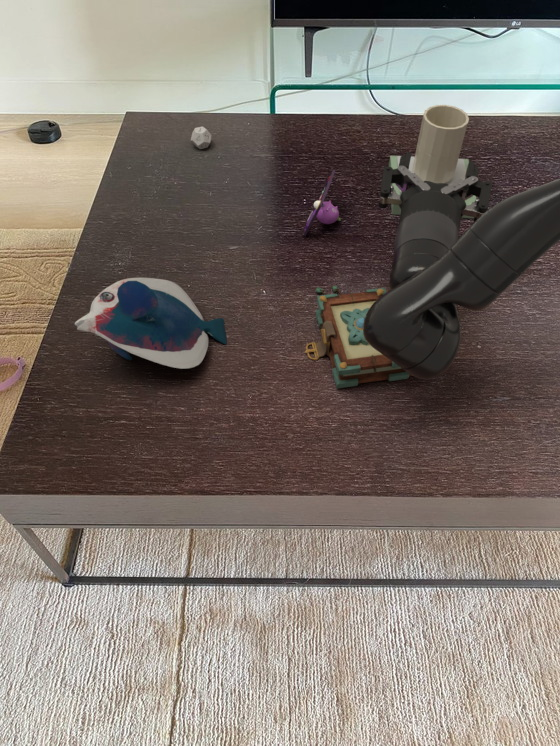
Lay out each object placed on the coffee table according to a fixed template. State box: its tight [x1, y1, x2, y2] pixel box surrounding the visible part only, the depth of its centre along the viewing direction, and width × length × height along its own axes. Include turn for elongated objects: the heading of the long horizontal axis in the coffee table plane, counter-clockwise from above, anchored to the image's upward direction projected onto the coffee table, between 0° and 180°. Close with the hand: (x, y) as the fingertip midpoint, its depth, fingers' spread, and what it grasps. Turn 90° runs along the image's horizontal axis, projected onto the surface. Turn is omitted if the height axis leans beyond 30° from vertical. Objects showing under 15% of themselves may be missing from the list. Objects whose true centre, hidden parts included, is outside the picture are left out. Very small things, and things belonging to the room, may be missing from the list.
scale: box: [388, 155, 477, 219], centre depth 100 cm, size 13×13×3 cm
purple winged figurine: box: [302, 169, 342, 237], centre depth 94 cm, size 7×5×9 cm
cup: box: [412, 104, 470, 184], centre depth 96 cm, size 7×7×10 cm
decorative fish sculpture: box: [74, 277, 228, 370], centre depth 78 cm, size 20×12×15 cm
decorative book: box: [304, 285, 412, 389], centre depth 80 cm, size 13×18×5 cm
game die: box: [190, 125, 213, 150], centre depth 108 cm, size 4×4×3 cm
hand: (438, 162), depth 86 cm, fingers open, 8 cm apart
